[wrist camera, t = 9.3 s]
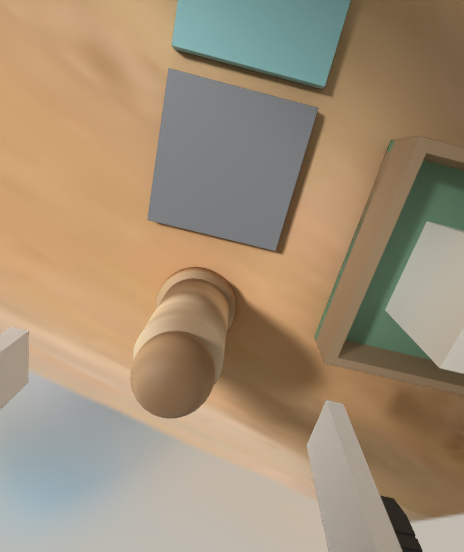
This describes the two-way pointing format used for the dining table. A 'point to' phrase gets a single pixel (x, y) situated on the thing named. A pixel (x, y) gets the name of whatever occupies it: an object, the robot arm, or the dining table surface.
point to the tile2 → (264, 35)
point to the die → (434, 296)
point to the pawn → (183, 343)
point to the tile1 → (227, 159)
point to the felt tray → (393, 264)
